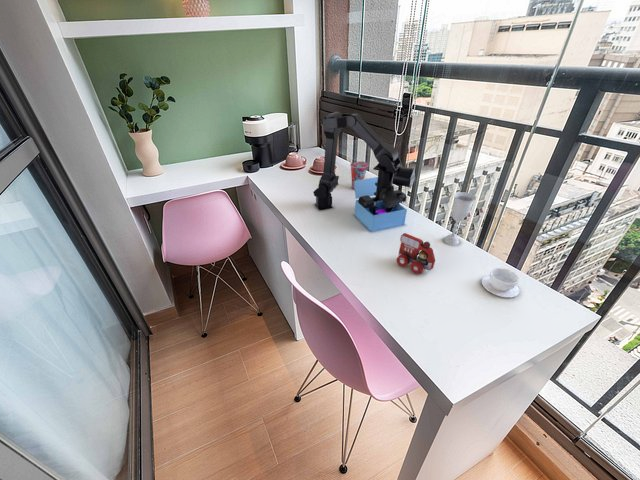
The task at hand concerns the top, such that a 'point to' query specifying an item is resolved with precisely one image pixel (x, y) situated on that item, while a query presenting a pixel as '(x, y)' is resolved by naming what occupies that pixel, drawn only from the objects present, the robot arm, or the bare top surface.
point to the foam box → (380, 216)
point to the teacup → (502, 282)
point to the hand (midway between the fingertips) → (379, 217)
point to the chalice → (459, 213)
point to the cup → (358, 171)
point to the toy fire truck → (415, 254)
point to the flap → (365, 187)
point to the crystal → (380, 212)
